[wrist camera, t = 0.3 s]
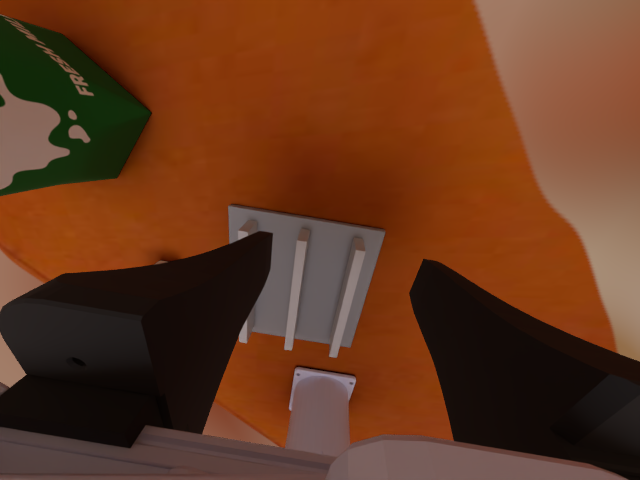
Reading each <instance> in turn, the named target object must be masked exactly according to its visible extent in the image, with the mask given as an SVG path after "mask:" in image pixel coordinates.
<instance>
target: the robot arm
mask: <svg viewBox="0 0 640 480" xmlns="http://www.w3.org/2000/svg"><path fill="white" fill-rule="evenodd" d="M272 242H273V233H270V232H264V231H258V232H255V233H253V234H251V235H249V236H246V237H244V238H242V239H240V240H237V241H235V242H233V243H230V244H228V245H225V246H222V247H220V248H217V249H215V250H212V251H209V252H206V253H203V254H199V255H196V256H192V257H188V258H184V259H180V260H175V261H170V262H165V263H161V264H155V265H149V266H142V267H135V268H127V269H118V270H107V271H94V272H80V273H65V274H62V275H60V276H58V277H56V278H54V279H52V280H51V281H49V282H47V283H45V284H43V285H41V286H39V287H37V288H35V289H33V290H31V291H29V292H28V293H26V294H24V295H22V296H20V297H18V298H16V299H14V300H12V301H11V302H9V303H7V304H6V305H5V306H3V307H2V309H1V311H0V332H1V335H2V337H3V339H4V341H5V342H6V344H7V345H8V347H9V348H10V350H11V351H12V353H13V354H14V356H15V358H16V359H17V361H18V362H19V364H20V365H21V367H22V368H23V370H24V371H25V373H26V374H27V375H26V376H25V377H23V378H22V379H21V380H19V381H18V382H17V383H16V384H14V385H13V386H12V387H11V388H9V387H8V386H6V385H5V384H3V383H1V382H0V480H640V362H639V361H636V360H634V359H630V358H628V357H625V356H623V355H620V354H618V353H615V352H612V351H610V350H607V349H605V348H602V347H600V346H597V345H595V344H592V343H590V342H587V341H585V340H582V339H580V338H578V337H575V336H573V335H571V334H568V333H566V332H564V331H562V330H560V329H557V328H555V327H553V326H551V325H548V324H546V323H544V322H542V321H540V320H538V319H536V318H534V317H532V316H530V315H528V314H526V313H524V312H522V311H520V310H518V309H517V308H515V307H513V306H511V305H509V304H507V303H506V302H504V301H502V300H500V299H499V298H497V297H495V296H494V295H492V294H490V293H488V292H487V291H485V290H484V289H482V288H480V287H479V286H477V285H476V284H474V283H472V282H471V281H469V280H468V279H466V278H465V277H463V276H461V275H460V274H458V273H457V272H455V271H454V270H452V269H450V268H449V267H447V266H445V265H443V264H442V263H439V262H437V261H433V260H427V259H423V261H422V264H421V266H420V269H419V271H418V273H417V276H416V278H415V281H414V283H413V285H412V288H411V290H410V293H409V294H410V299H411V303H412V307H413V311H414V314H415V317H416V319H417V322H418V324H419V327H420V329H421V332H422V334H423V337H424V339H425V342H426V344H427V346H428V349H429V351H430V354H431V356H432V359H433V362H434V365H435V368H436V371H437V375H438V378H439V382H440V385H441V389H442V393H443V396H444V400H445V404H446V408H447V412H448V416H449V421H450V425H451V430H452V434H453V439H454V441H450V440H444V439H438V438H432V437H426V436H417V435H380V436H376V437H373V438H369V439H366V440H362V441H358V442H355V443H352V444H351V445H350V431H349V406H348V402H349V399H350V397H351V394H352V391H353V388H354V385H355V383H356V378H355V377H354V376H351V375H344V374H338V373H332V372H326V371H320V370H314V369H308V368H302V367H296V368H295V372H294V379H293V385H292V392H291V398H290V404H289V410H291V416H290V422H289V428H288V434H287V440H286V446H285V448H281V447H275V446H269V445H263V444H256V443H251V442H245V441H238V440H232V439H226V438H220V437H214V436H208V435H202V432H203V429H204V427H205V424H206V421H207V418H208V415H209V412H210V409H211V407H212V404H213V401H214V399H215V396H216V393H217V390H218V388H219V385H220V382H221V380H222V377H223V374H224V372H225V369H226V367H227V364H228V361H229V359H230V356H231V354H232V351H233V349H234V346H235V344H236V341H237V339H238V336H239V334H240V332H241V330H242V328H243V326H244V324H245V322H246V320H247V318H248V316H249V314H250V312H251V310H252V309H253V307H254V305H255V303H256V301H257V299H258V297H259V296H260V294H261V292H262V290H263V288H264V286H265V283H266V281H267V278H268V275H269V272H270V269H271V256H272Z"/></svg>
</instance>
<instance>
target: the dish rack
mask: <svg viewBox="0 0 640 480" xmlns="http://www.w3.org/2000/svg"><path fill="white" fill-rule="evenodd" d="M228 210H229V243H233V242H235V241H237V240H240V239H242V238H244V237H246V236H249V235H251V234H253V233H255V232H258V231H264V232H270V233H273V242H272V256H271V269H270V272H269V275H268V278H267V281H266V283H265V286H264V288H263V290H262V292H261V294H260V296H259V297H258V299H257V301H256V303H255V305H254V307H253V309H252V310H251V312H250V314H249V316H248V318H247V320H246V322H245V324H244V326H243V328H242V330H241V332H240V334H239V342H243V343H247V342H248V339H249V337H250V335H251V332H258V333H265V334H271V335H277V336H283V337H286V339H285V347H284V349H285V350H291V351H292V347H293V342H294V338H295V339H301V340H307V341H313V342H320V343H326V344H330V346H329V357H334V358H337V355H338V351H339V347H340V346H344V347H351V344H352V340H353V337H354V334H355V330H356V327H357V324H358V321H359V317H360V314H361V311H362V307H363V304H364V301H365V298H366V294H367V291H368V288H369V284H370V281H371V278H372V275H373V271H374V268H375V265H376V261H377V258H378V255H379V252H380V248H381V245H382V242H383V238H384V235H385V230H384V229H379V228H373V227H367V226H361V225H355V224H349V223H343V222H337V221H331V220H325V219H319V218H313V217H307V216H301V215H295V214H288V213H282V212H276V211H270V210H264V209H258V208H252V207H246V206H240V205H234V204H231V205H229V206H228Z"/></svg>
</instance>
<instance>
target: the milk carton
mask: <svg viewBox="0 0 640 480" xmlns="http://www.w3.org/2000/svg"><path fill="white" fill-rule="evenodd" d="M150 115H151V112H150V111H149V110H148V109H147V108H146V107H144V106H143V105H142V104H141V103H140V102H139V101H138V100H136V99H135V98H134V97H133V96H132V95H131V94H130V93H128V92H127V91H126V90H125V89H124V88H123V87H122V86H121V85H119V84H118V83H117V82H116V81H115V80H114V79H113V78H111V77H110V76H109V75H108V74H107V73H106V72H105V71H103V70H102V69H101V68H100V67H99V66H98V65H97V64H96V63H94V62H93V61H92V60H91V59H90V58H89V57H88V56H86V55H85V54H84V53H83V52H82V51H81V50H80V49H78V48H77V47H76V46H75V45H74V44H73V43H72V42H71V41H69V40H68V39H67V38H66V37H65V36H64V35H63V34H61V33H58V32H54V31H51V30H48V29H45V28H42V27H39V26H36V25H32V24H29V23H26V22H23V21H20V20H17V19H14V18H10V17H7V16H4V15H1V14H0V196H3V195H8V194H13V193H18V192H23V191H29V190H34V189H39V188H44V187H49V186H55V185H60V184H69V183H78V182H87V181H96V180H105V179H114V178H117V177H118V175H119V173H120V171H121V169H122V168H123V166H124V164H125V162H126V160H127V158H128V156H129V154H130V153H131V151H132V149H133V147H134V145H135V143H136V141H137V139H138V137H139V136H140V134H141V132H142V130H143V128H144V126H145V124H146V122H147V120H148V119H149V117H150Z"/></svg>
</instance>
